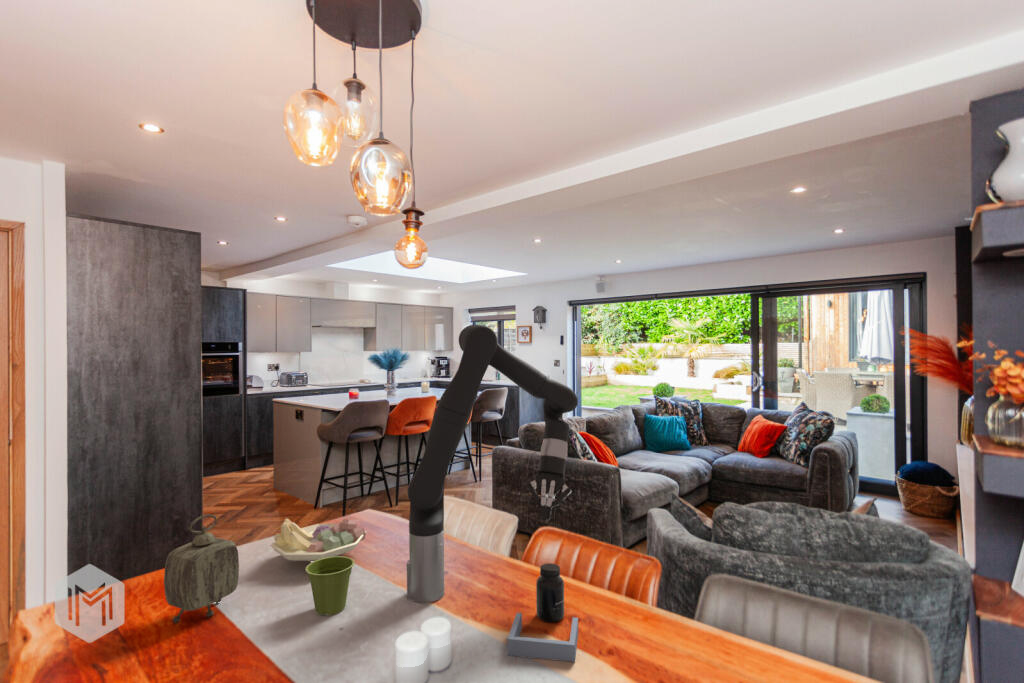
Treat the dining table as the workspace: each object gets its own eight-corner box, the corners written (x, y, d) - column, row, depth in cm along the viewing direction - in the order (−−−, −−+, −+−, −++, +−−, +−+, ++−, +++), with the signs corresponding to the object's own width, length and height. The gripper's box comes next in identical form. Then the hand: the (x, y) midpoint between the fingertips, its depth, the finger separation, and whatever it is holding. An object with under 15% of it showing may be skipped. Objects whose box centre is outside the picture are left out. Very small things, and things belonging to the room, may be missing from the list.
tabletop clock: (220, 598, 137) (220, 505, 138) (243, 605, 133) (242, 509, 134) (164, 625, 124) (163, 521, 125) (186, 633, 120) (186, 527, 121)
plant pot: (364, 602, 134) (364, 559, 134) (331, 625, 123) (330, 578, 123) (330, 594, 139) (330, 552, 139) (295, 615, 128) (294, 570, 128)
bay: (507, 655, 110) (507, 638, 110) (517, 627, 121) (516, 612, 121) (574, 662, 107) (574, 645, 107) (578, 632, 118) (578, 617, 118)
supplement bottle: (562, 624, 122) (562, 574, 122) (534, 622, 123) (533, 571, 123) (565, 610, 128) (564, 562, 129) (538, 607, 130) (538, 560, 130)
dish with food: (252, 562, 159) (254, 517, 159) (330, 536, 182) (331, 496, 182) (305, 590, 143) (307, 540, 143) (383, 557, 166) (385, 514, 166)
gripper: (527, 451, 143) (517, 516, 137) (574, 457, 139) (566, 523, 133) (533, 456, 150) (524, 518, 143) (578, 462, 146) (570, 526, 139)
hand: (544, 521), depth 138 cm, fingers closed
